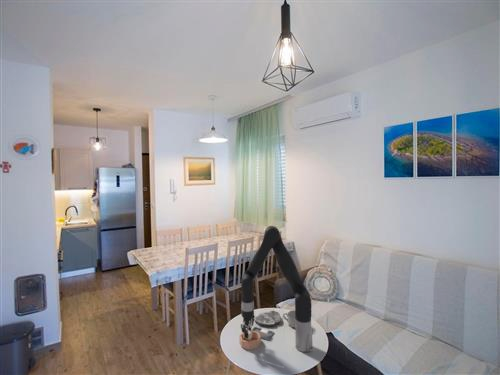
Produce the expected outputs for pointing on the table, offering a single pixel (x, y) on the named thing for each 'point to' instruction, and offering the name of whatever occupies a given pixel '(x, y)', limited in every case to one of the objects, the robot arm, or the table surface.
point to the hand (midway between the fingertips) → (247, 335)
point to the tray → (259, 333)
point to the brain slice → (268, 318)
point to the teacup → (290, 318)
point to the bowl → (250, 341)
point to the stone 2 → (264, 333)
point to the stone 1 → (248, 335)
